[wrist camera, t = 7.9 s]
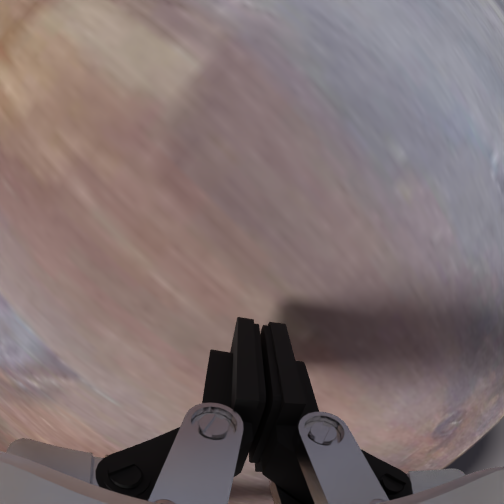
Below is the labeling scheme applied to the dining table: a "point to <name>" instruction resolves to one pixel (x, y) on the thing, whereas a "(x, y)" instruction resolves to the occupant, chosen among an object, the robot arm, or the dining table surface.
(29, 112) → the dining table surface
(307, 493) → the robot arm
